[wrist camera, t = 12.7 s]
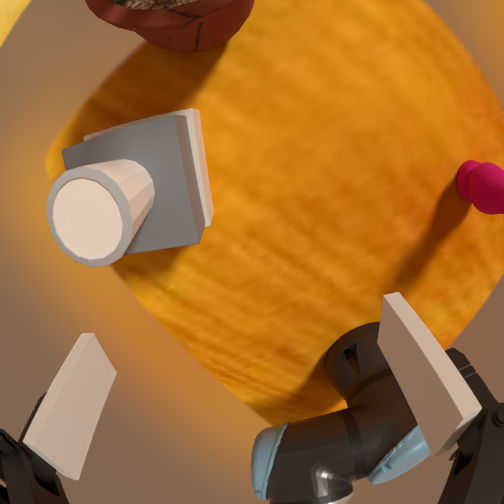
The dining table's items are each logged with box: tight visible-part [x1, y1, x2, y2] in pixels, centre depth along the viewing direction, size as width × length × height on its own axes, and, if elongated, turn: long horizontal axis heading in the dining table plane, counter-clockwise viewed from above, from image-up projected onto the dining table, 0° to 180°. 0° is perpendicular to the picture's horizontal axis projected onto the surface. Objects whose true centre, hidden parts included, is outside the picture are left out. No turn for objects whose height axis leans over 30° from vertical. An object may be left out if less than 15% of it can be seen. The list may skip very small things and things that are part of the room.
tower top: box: [62, 115, 206, 255], centre depth 24 cm, size 11×11×5 cm
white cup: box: [47, 159, 155, 267], centre depth 19 cm, size 7×7×7 cm
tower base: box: [83, 108, 214, 227], centre depth 28 cm, size 12×12×5 cm
